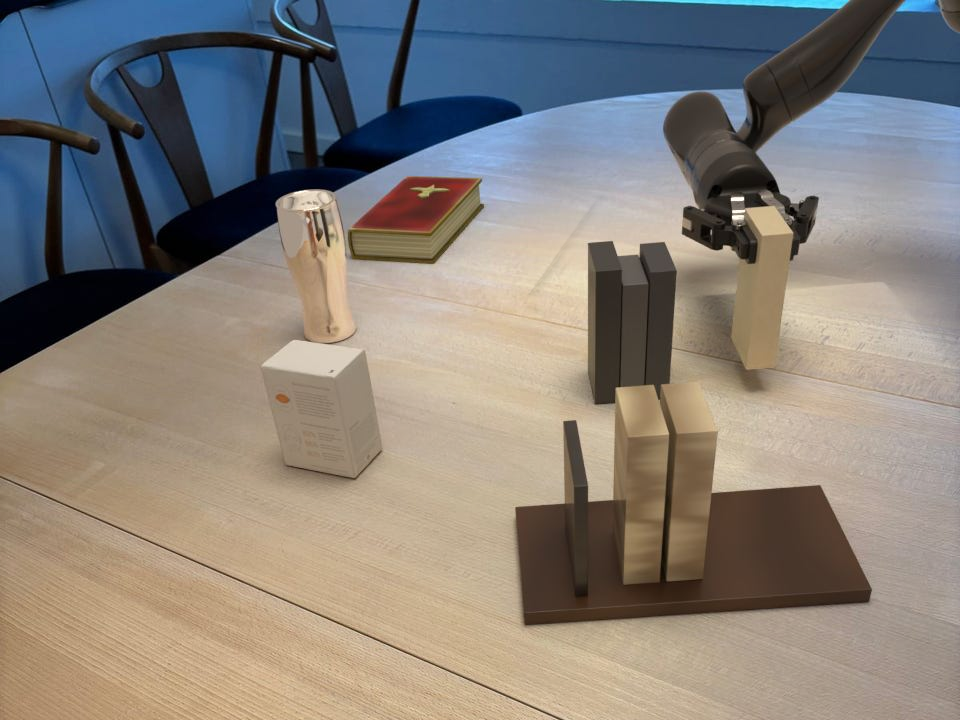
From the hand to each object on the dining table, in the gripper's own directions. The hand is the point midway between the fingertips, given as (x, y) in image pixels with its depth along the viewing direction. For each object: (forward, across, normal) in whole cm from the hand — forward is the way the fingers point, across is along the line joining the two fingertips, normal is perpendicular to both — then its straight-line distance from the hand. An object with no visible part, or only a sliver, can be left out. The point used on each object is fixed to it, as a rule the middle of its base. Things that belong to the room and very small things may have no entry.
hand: (772, 251), depth 89 cm
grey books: (-2, -12, +14) cm, 19 cm away
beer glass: (-20, -45, +14) cm, 51 cm away
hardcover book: (-51, -35, +14) cm, 63 cm away
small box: (+8, -42, +14) cm, 45 cm away
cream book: (-2, 0, +11) cm, 11 cm away
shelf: (+27, -12, +14) cm, 32 cm away
